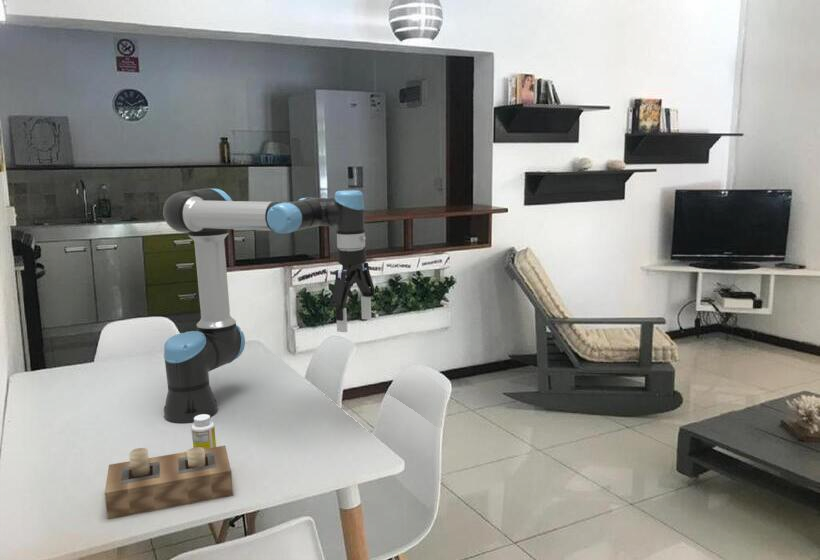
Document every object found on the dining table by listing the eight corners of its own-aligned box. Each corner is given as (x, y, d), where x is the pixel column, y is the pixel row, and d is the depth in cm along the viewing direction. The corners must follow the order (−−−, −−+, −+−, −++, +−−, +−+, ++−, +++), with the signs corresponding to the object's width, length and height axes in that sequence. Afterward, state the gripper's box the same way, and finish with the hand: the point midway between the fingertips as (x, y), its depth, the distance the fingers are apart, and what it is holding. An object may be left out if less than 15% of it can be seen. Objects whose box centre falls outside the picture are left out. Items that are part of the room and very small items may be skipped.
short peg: (189, 480, 155) (187, 455, 154) (188, 472, 159) (186, 448, 157) (206, 477, 156) (204, 452, 155) (205, 469, 160) (203, 445, 159)
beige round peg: (131, 482, 151) (129, 456, 150) (132, 474, 154) (129, 449, 153) (150, 478, 152) (147, 453, 151) (150, 471, 156) (147, 446, 154)
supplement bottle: (208, 447, 178) (205, 411, 176) (221, 453, 175) (217, 416, 173) (189, 455, 174) (186, 417, 172) (202, 461, 171) (198, 423, 169)
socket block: (107, 519, 145) (104, 493, 144) (111, 488, 158) (108, 464, 157) (233, 495, 154) (231, 470, 153) (227, 468, 167) (225, 445, 166)
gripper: (339, 256, 171) (343, 338, 175) (385, 242, 193) (387, 315, 197) (314, 255, 174) (318, 335, 178) (361, 241, 196) (364, 313, 200)
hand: (354, 325), depth 187 cm, fingers open, 13 cm apart
